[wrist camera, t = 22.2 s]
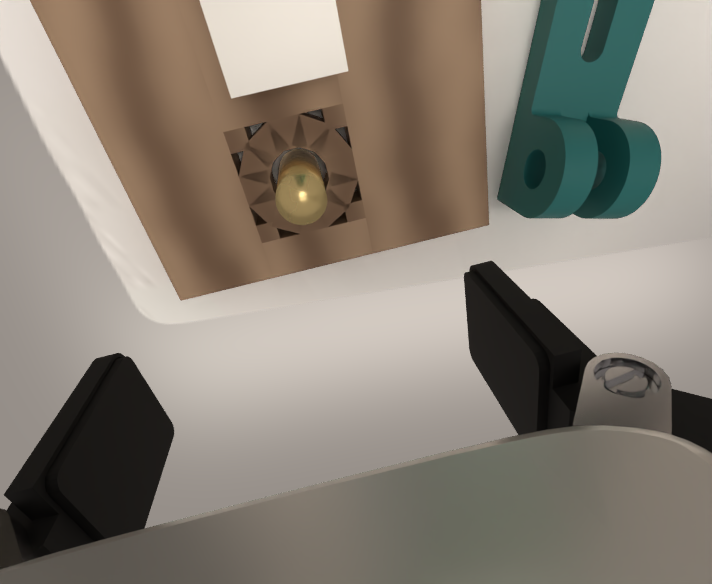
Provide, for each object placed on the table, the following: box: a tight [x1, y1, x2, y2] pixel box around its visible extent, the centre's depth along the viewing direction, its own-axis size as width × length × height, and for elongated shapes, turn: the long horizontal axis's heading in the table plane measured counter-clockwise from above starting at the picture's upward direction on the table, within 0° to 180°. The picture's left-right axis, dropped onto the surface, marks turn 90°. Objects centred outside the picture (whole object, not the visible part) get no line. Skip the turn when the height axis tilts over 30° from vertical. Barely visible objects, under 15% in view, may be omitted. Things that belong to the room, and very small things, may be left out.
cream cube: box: [199, 0, 348, 99], centre depth 21 cm, size 6×6×6 cm
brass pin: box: [275, 149, 327, 225], centre depth 27 cm, size 3×3×8 cm
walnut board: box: [30, 0, 489, 300], centre depth 28 cm, size 25×20×2 cm
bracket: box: [497, 0, 661, 219], centre depth 27 cm, size 18×7×8 cm, turn 177°
